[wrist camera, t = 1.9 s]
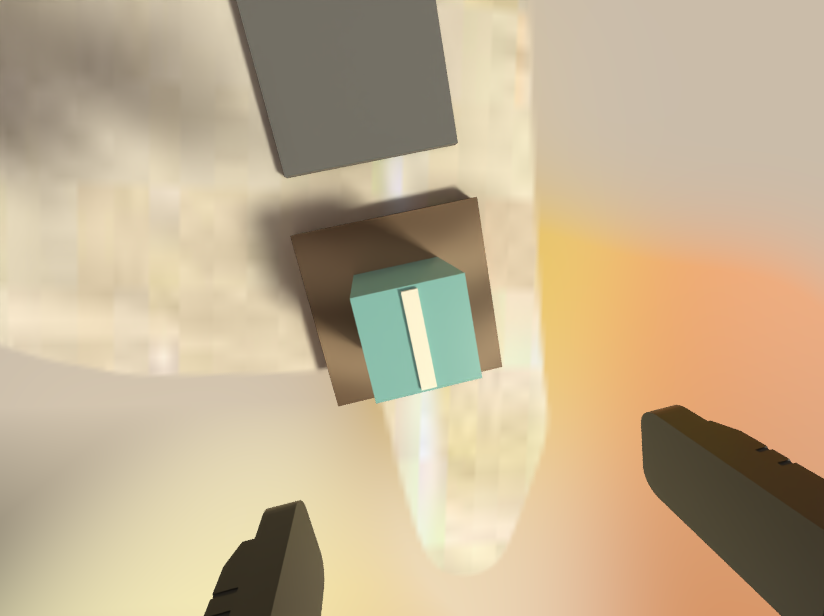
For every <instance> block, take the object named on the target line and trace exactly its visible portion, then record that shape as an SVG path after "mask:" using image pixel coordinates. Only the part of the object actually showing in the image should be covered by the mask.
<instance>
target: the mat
mask: <svg viewBox="0 0 824 616" xmlns="http://www.w3.org/2000/svg"><path fill="white" fill-rule="evenodd" d="M236 1H237V5H238V8H239V12H240V16H241V19H242V23H243V27H244V30H245V34H246V38H247V41H248V45H249V49H250V52H251V56H252V59H253V63H254V67H255V70H256V74H257V78H258V81H259V85H260V89H261V92H262V96H263V100H264V103H265V107H266V111H267V114H268V118H269V121H270V125H271V129H272V132H273V136H274V140H275V143H276V147H277V151H278V154H279V158H280V162H281V165H282V169H283V173H284V176H285V177H286V178H291V177H296V176H301V175H306V174H311V173H316V172H321V171H326V170H331V169H336V168H341V167H346V166H351V165H356V164H361V163H366V162H371V161H376V160H381V159H386V158H391V157H396V156H401V155H406V154H411V153H416V152H421V151H427V150H432V149H437V148H442V147H447V146H452V145H455V144H457V143H458V141H457V135H456V128H455V122H454V115H453V109H452V103H451V96H450V90H449V83H448V77H447V71H446V64H445V58H444V51H443V45H442V38H441V32H440V26H439V19H438V13H437V6H436V0H236Z"/></svg>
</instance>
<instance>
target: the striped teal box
mask: <svg viewBox="0 0 824 616" xmlns="http://www.w3.org/2000/svg"><path fill="white" fill-rule="evenodd" d="M350 301H351V305H352V309H353V313H354V317H355V321H356V325H357V329H358V333H359V337H360V341H361V345H362V349H363V353H364V357H365V361H366V365H367V369H368V373H369V377H370V381H371V385H372V389H373V393H374V397H375V400H376V403H380V402H384V401H389V400H393V399H397V398H401V397H405V396H409V395H413V394H417V393H421V392H426V391H430V390H434V389H438V388H442V387H446V386H450V385H454V384H458V383H462V382H467V381H471V380H475V379H479V378H482V374H481V368H480V362H479V356H478V350H477V344H476V338H475V332H474V326H473V320H472V314H471V307H470V301H469V295H468V289H467V283H466V277H465V273H464V272H462V271H461V270H459V269H457V268H456V267H454V266H452V265H451V264H449V263H447V262H446V261H444V260H442V259H440V258H439V257H434V258H429V259H425V260H420V261H416V262H411V263H406V264H402V265H397V266H393V267H388V268H384V269H379V270H374V271H370V272H365V273H361V274H356V275H354V276H353V282H352V288H351V294H350Z"/></svg>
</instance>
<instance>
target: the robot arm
mask: <svg viewBox="0 0 824 616" xmlns="http://www.w3.org/2000/svg"><path fill="white" fill-rule="evenodd" d="M641 429H642V430H641V431H642V451H643V469H644V474H645V477H646V479H647V482H648V484H649V485H650V487H651V489H652V490H653V492H654V493H655V494H656V495H657V496H658V498H660V500H661V501H663V502H664V503H665V504H666V505H667V506H668V507H669V508H670V509H671V510H672V511H673V512H674V513H675V514H676V515H677V516H678V517H679V518H680V519H681V520H682V521H684V523H685V524H687V526H689V527H690V528H691V529H692V530H693V531H694V532H695V533H696V534H697V535H698V536H699V537H700V538H701V539H702V540H703V541H704V542H705V543H706V544H707V545H708V546H709V547H710V548H711V549H713V551H715V552H716V553H717V554H718V555H719V556H720V557H721V558H722V559H723V560H724V561H725V562H726V563H727V564H728V565H729V566H730V567H731V568H732V569H733V570H734V571H735V572H736V573H738V574H739V575H740V576H741V577H742V578H743V579H744V580H745V581H746V582H747V583H748V584H749V585H750V586H751V587H752V588H753V589H754V590H755V591H756V592H757V593H758V594H759V595H760V596H761V597H762V598H763V599H764V600H766V601H767V602H768V603H769V604H770V605H771V606H772V607H773V608H774V609H775V610H776V611H777V612H778V613H779V614H780V615H781V616H824V479H823V478H821V477H820V476H818V475H816V474H815V473H813V472H811V471H809V470H807V469H806V468H804V467H802V466H801V465H799V464H797V463H792V462H791V461H790V459H788V458H787V457H785V456H783V455H781V454H780V453H778V452H776V451H775V450H773V449H772V450H769V449H768V448H767V446H766V445H764V444H762V443H761V442H759V441H757V440H755V439H754V438H752V437H750V436H748V435H747V434H745V433H743V432H742V431H739V430H736V429H733V428H730V427H727V426H725V425H722V424H719V423H716V422H713V421H707V420H705V419H703V418H701V417H700V416H698V415H697V414H695V413H693V412H691V411H690V410H688V409H687V408H685V407H683V406H680V405H674V406H670V407H666V408H663V409H658V410H654V411H651V412H646V413H645V414H643V416H642V420H641ZM323 590H324V568H323V560H322V556H321V552H320V549H319V546H318V543H317V540H316V537H315V534H314V531H313V528H312V525H311V521H310V518H309V515H308V513H307V509H306V507H305V505H304V503H303V501H301V500H300V501H295V502H292V503H288V504H284V505H280V506H276V507H272V508H268V509H266V510H265V512H264V513H263V516H262V519H261V522H260V525H259V528H258V531H257V534H256V537H255V539H252V540H248V541H244V542H242V543H241V544H240V546H239V547H238V548H237V550H236V551H235V552H234V554H233V555H232V556H231V558H230V559H229V560H228V561H227V563H226V564H225V566H224V567H223V569H222V572H221V574H220V577H219V579H218V582H217V584H216V587H215V589H214V592H213V599H211V600H210V602H209V604H208V607H207V609H206V612H205V614H204V616H321V610H322V601H323Z"/></svg>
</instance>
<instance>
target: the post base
mask: <svg viewBox="0 0 824 616" xmlns="http://www.w3.org/2000/svg"><path fill="white" fill-rule="evenodd" d="M291 240H292V243H293V247H294V250H295V254H296V258H297V261H298V265H299V268H300V272H301V275H302V279H303V282H304V286H305V290H306V293H307V297H308V300H309V304H310V307H311V311H312V314H313V318H314V322H315V325H316V329H317V332H318V336H319V339H320V343H321V346H322V350H323V353H324V357H325V361H326V364H327V368H328V371H329V375H330V378H331V382H332V385H333V389H334V392H335V396H336V400H337V403H338V406H342V405H346V404H350V403H354V402H358V401H363V400H367V399H371V398H375V397H374V393H373V389H372V385H371V381H370V377H369V373H368V369H367V365H366V361H365V357H364V353H363V349H362V345H361V341H360V337H359V333H358V329H357V325H356V321H355V317H354V313H353V309H352V305H351V301H350V294H351V288H352V282H353V276H354V275H356V274H361V273H365V272H370V271H374V270H379V269H384V268H388V267H393V266H397V265H402V264H406V263H411V262H416V261H420V260H425V259H429V258H434V257H439V258H440V259H442V260H444V261H446V262H447V263H449V264H451V265H452V266H454V267H456V268H457V269H459V270H461V271H462V272H464V273H465V277H466V283H467V289H468V295H469V301H470V307H471V314H472V320H473V326H474V332H475V338H476V344H477V350H478V356H479V362H480V368H481V372H482V371H486V370H491V369H495V368H499V367H502V363H501V356H500V349H499V342H498V336H497V329H496V322H495V316H494V309H493V302H492V295H491V289H490V282H489V275H488V268H487V262H486V255H485V248H484V242H483V235H482V228H481V221H480V215H479V208H478V201H477V197H474V198H468V199H463V200H459V201H454V202H449V203H444V204H440V205H435V206H430V207H425V208H420V209H416V210H411V211H406V212H401V213H397V214H392V215H387V216H382V217H377V218H373V219H368V220H363V221H358V222H353V223H349V224H344V225H339V226H334V227H330V228H325V229H320V230H315V231H310V232H306V233H301V234H296V235H292V236H291Z"/></svg>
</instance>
